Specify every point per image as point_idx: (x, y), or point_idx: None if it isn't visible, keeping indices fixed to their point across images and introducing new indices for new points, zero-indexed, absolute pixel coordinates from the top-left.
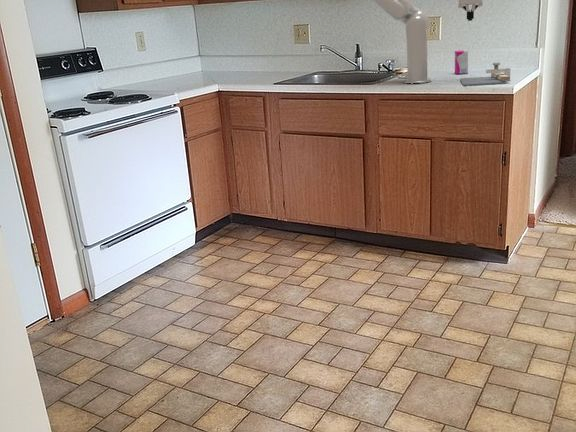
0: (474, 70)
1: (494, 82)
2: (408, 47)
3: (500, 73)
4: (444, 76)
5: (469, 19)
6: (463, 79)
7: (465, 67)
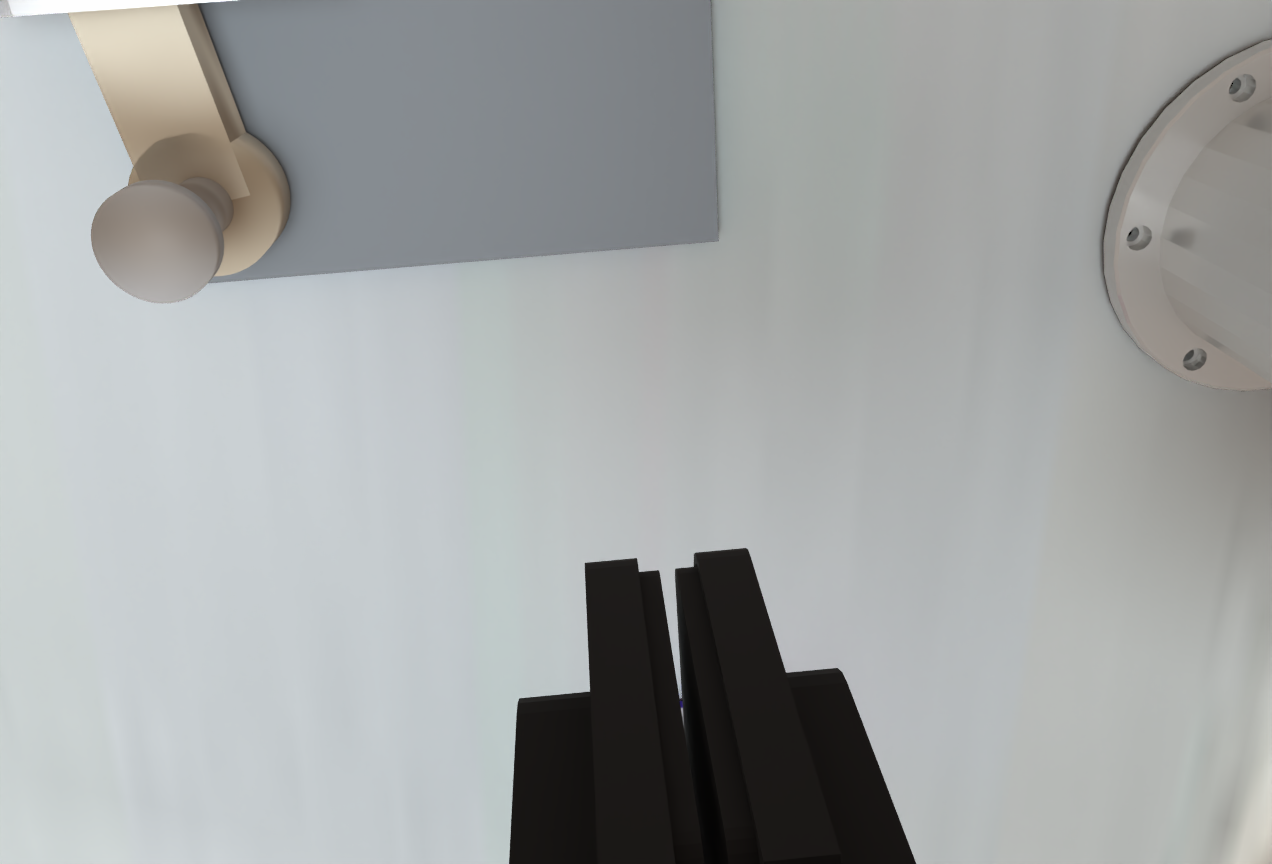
0: None
1: None
2: None
3: (118, 79)
4: (885, 605)
5: (715, 570)
6: (676, 110)
7: None
